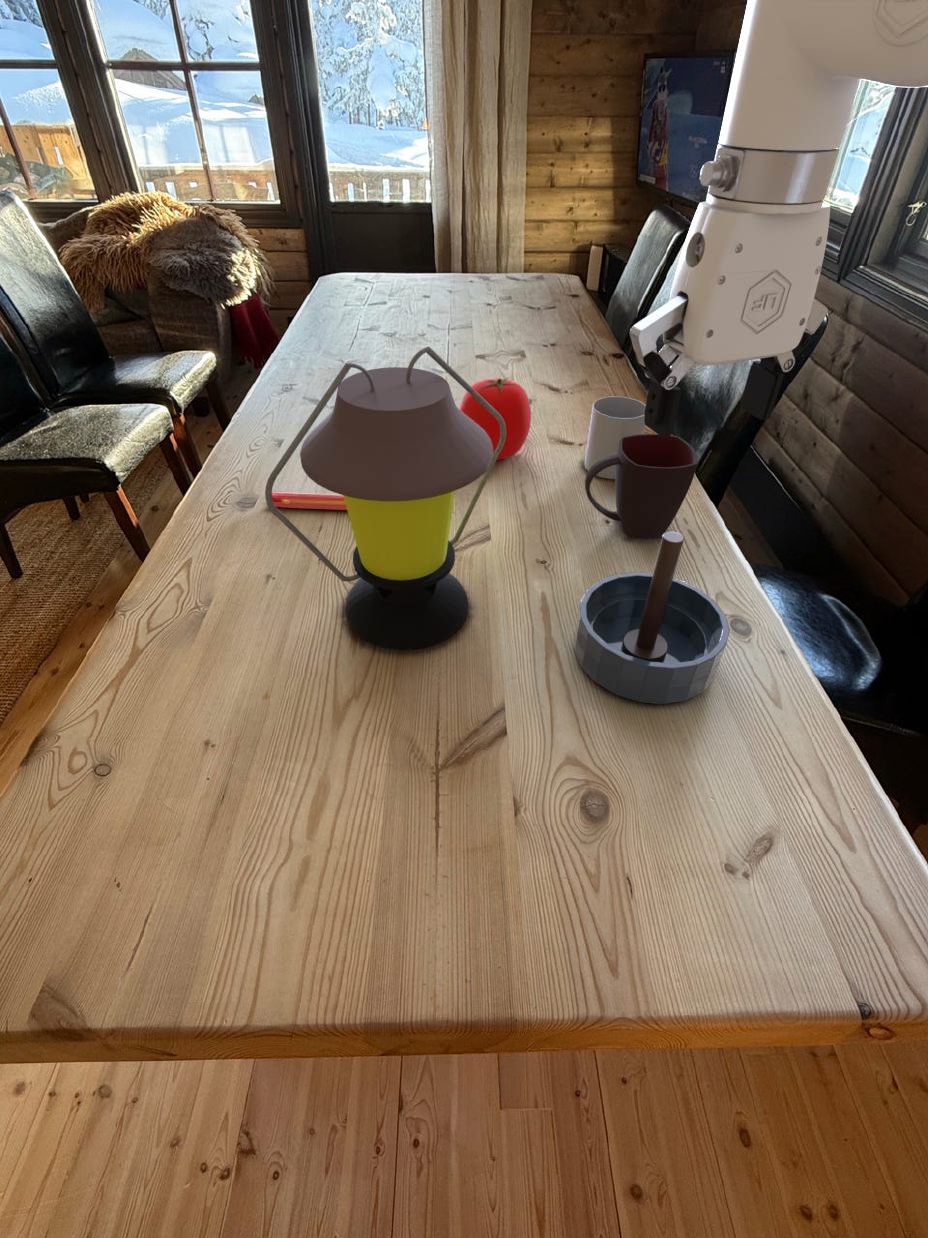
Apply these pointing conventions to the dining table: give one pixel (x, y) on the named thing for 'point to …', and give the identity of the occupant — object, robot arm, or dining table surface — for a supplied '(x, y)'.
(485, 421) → the tomato
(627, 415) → the cup
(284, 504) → the red bar
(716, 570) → the dining table surface
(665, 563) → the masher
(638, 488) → the mug
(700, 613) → the bowl
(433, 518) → the lantern
